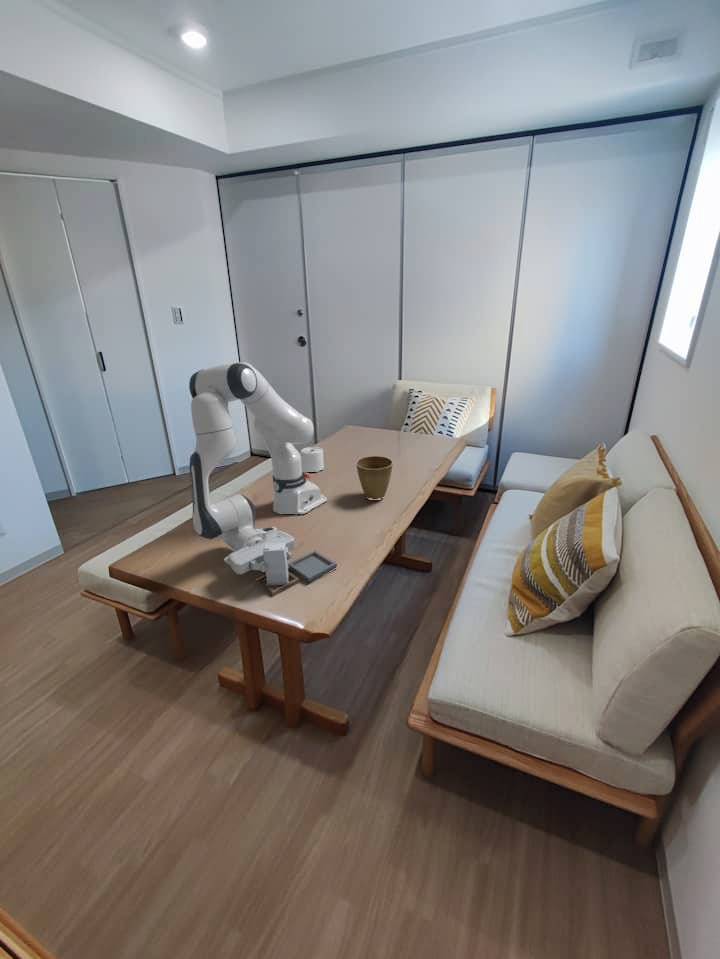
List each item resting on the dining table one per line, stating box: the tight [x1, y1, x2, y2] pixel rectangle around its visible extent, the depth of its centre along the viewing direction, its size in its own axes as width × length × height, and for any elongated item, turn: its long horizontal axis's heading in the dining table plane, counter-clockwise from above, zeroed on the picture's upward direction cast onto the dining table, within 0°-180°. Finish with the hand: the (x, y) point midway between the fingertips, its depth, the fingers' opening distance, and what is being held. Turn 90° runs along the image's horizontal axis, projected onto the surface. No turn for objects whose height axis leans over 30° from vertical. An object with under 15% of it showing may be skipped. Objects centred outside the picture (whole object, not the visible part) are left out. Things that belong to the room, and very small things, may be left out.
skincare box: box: [263, 543, 289, 586], centre depth 123 cm, size 6×4×12 cm
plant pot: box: [355, 455, 393, 499], centre depth 175 cm, size 15×15×16 cm
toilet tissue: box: [300, 446, 325, 472], centre depth 206 cm, size 11×12×10 cm
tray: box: [287, 550, 338, 585], centre depth 131 cm, size 11×11×2 cm
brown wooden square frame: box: [255, 570, 300, 597], centre depth 125 cm, size 9×9×1 cm
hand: (277, 562), depth 122 cm, fingers closed on skincare box, 7 cm apart
